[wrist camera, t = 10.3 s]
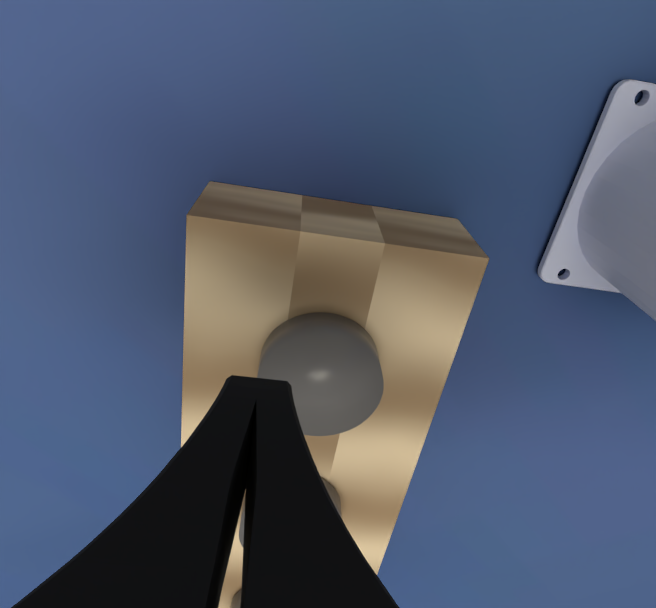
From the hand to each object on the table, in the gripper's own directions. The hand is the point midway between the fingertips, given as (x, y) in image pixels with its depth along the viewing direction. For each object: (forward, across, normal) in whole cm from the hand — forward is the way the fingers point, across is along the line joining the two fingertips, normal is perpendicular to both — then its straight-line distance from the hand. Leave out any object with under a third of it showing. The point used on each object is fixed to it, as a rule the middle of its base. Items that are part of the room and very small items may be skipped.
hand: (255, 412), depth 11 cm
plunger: (+10, -2, +3) cm, 11 cm away
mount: (+10, -2, +11) cm, 15 cm away
